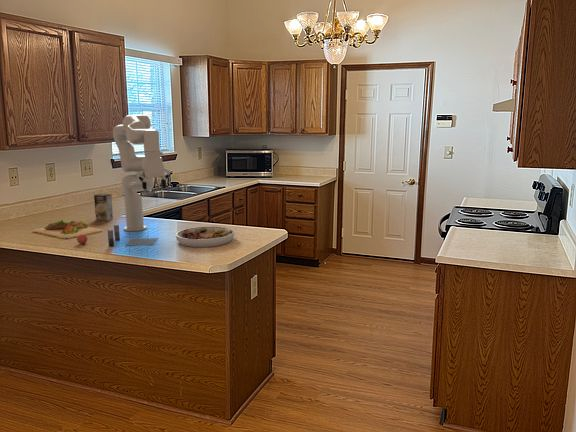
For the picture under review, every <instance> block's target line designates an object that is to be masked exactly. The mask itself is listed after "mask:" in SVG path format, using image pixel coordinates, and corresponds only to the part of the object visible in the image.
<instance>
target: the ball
mask: <svg viewBox="0 0 576 432" xmlns="http://www.w3.org/2000/svg"><path fill="white" fill-rule="evenodd" d="M87 236H88V235H84V234H81V235H79V236H78V237H76V241H77V242H78V244H80V245H84V244H86V243H87V242H88V237H87Z"/></svg>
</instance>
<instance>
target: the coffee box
mask: <svg viewBox="0 0 576 432" xmlns="http://www.w3.org/2000/svg"><path fill="white" fill-rule="evenodd" d="M112 197H113V196H112V193H111V194H109V193H98V194H94V195H93V200H94V201H93V202H94V213H95V220H97V221H110V220H113V219H114V213H113V212H114V211H113V210H114V209H113V200H112V199H113V198H112Z"/></svg>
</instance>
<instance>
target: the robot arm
mask: <svg viewBox="0 0 576 432" xmlns="http://www.w3.org/2000/svg"><path fill="white" fill-rule="evenodd" d="M151 126H152V124H151V119H150V117H149V116H148V115H146V114H128V115H125V117H123V120H122V124H118V125H116V126H114V127H113V129H112V136H113V140H114V142H115V145H116V146H117V148H118V153H119V158H120V163H121V164H120V165H121V169H122V171H123V173H126V174H128V175H125V176H123V177H122V178H121V186H122V191H123V196H124V206H125V208H124V210H125V222H126V226H125V227H124V228H123V230H124V231H126V232H137V231H144V230H146V229H147V228H148V227H147V225H144V224H145V223H144V210H143V198H142V196H141V194H139V193H138V192H141V191H142V192H143V191H149V190H152V189H153V188H154V178H161V188H163V189H166V186H167V179H168V178H169V177H170V174H171V170H169V169H166V168H164V163H163V158H162V157H161V156H163V155H164V153H163V152H162V151H161V147H160V132H159V130H157V129H153V128H151ZM133 145H143V148H144V149H143V150H144V155H136V151H135V147H134V146H133ZM131 173H132V174H131ZM165 173H166V174H165Z"/></svg>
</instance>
